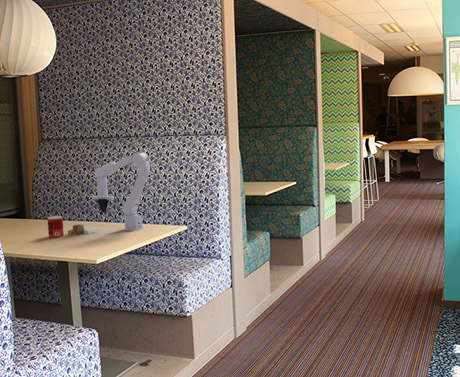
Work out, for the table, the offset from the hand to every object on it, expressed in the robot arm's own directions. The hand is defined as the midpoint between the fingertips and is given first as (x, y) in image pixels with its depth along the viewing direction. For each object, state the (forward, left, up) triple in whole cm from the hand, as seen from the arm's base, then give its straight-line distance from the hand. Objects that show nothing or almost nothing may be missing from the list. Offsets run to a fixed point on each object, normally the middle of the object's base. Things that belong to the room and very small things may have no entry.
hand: (103, 212), depth 354 cm
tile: (-2, +13, -8) cm, 16 cm away
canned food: (+10, +28, -10) cm, 31 cm away
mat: (-2, +14, -10) cm, 17 cm away
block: (+3, +18, -10) cm, 21 cm away
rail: (+6, +18, -10) cm, 22 cm away
